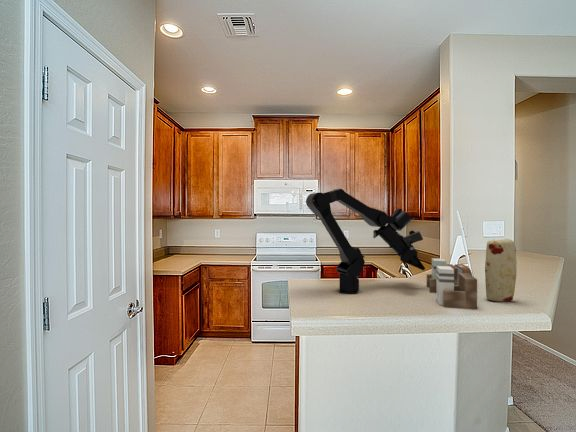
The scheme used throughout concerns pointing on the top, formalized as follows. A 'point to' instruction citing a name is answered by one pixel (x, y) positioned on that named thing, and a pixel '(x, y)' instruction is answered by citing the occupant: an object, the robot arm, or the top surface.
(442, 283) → the white rectangular block
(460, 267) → the tin
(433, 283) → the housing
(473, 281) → the housing
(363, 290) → the top surface
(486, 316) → the top surface
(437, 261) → the pale green box
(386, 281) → the top surface
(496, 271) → the food model
